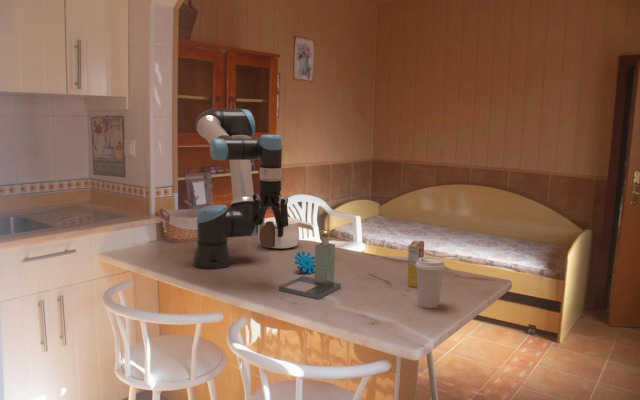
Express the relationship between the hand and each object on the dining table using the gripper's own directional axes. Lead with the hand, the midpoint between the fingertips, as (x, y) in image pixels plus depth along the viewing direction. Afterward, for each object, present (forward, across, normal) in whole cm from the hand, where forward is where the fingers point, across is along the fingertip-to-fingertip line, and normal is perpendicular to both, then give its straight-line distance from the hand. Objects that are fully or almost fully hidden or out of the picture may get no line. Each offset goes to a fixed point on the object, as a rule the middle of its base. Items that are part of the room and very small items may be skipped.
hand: (269, 243), depth 194 cm
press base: (+14, +16, +3) cm, 21 cm away
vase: (+1, 0, 0) cm, 1 cm away
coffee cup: (+14, +56, +12) cm, 58 cm away
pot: (+16, -28, +48) cm, 58 cm away
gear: (+15, +3, +21) cm, 26 cm away
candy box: (+15, +44, +31) cm, 55 cm away
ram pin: (+5, +18, +8) cm, 21 cm away
